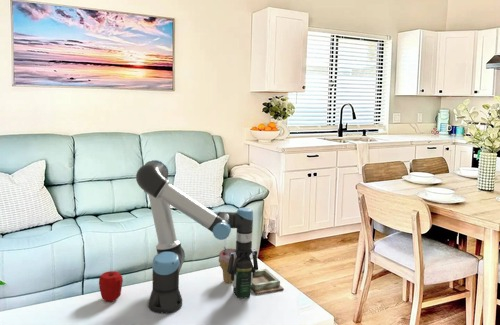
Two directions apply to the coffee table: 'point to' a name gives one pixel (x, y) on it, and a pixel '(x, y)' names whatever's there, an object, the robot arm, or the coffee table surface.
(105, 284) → the apple
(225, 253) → the ice cream cone
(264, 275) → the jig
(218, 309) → the coffee table surface
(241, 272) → the coffee jar
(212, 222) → the robot arm
